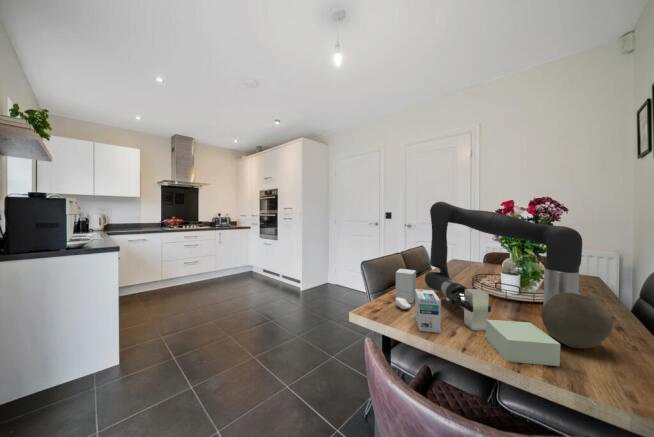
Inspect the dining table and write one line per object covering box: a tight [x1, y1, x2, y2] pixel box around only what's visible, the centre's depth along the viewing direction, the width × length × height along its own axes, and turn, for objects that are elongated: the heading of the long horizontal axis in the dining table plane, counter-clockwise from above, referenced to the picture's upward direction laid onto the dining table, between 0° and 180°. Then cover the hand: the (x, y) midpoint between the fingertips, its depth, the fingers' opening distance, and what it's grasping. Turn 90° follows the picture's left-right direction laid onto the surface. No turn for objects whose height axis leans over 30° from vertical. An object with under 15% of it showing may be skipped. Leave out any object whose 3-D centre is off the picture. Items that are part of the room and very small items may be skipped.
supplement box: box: [395, 268, 417, 304], centre depth 109 cm, size 7×7×13 cm
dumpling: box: [395, 297, 412, 311], centre depth 99 cm, size 7×5×4 cm
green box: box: [485, 319, 562, 367], centre depth 69 cm, size 12×12×6 cm
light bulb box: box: [414, 288, 442, 334], centre depth 85 cm, size 11×7×11 cm, turn 168°
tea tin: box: [463, 288, 490, 331], centre depth 83 cm, size 5×5×12 cm
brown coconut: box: [541, 292, 614, 350], centre depth 72 cm, size 14×14×15 cm
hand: (480, 309), depth 81 cm, fingers closed on tea tin, 5 cm apart
